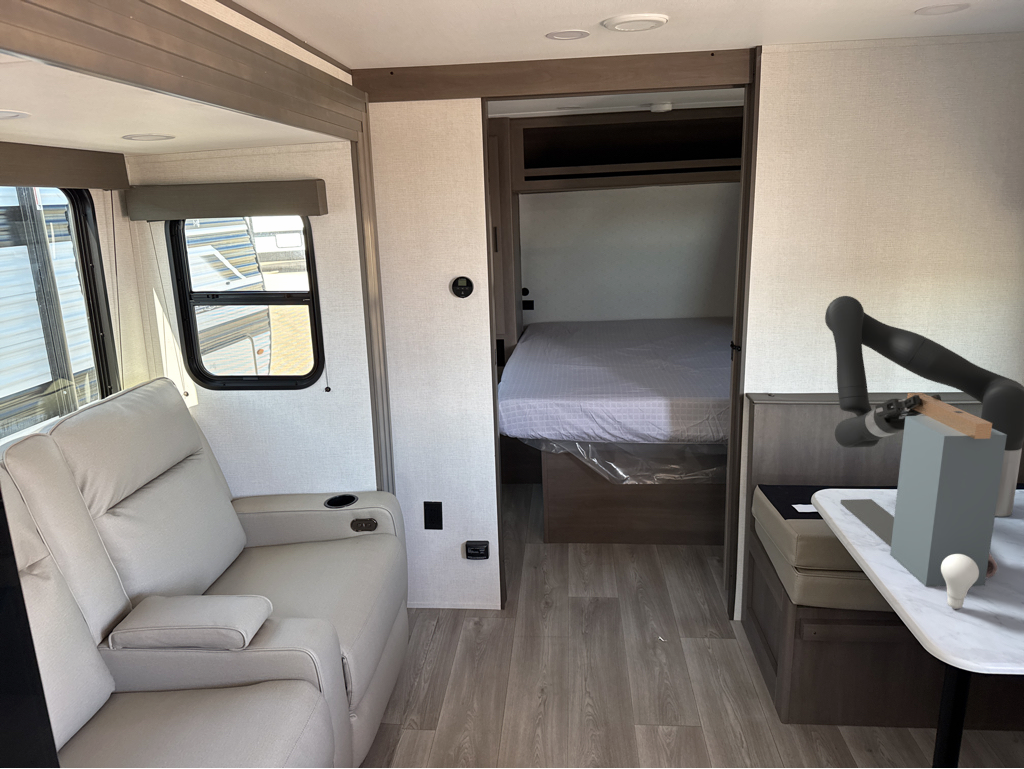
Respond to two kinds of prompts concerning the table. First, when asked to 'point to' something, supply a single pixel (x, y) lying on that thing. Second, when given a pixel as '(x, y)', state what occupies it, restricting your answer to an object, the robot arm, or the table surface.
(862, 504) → the rubber mat
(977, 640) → the table surface
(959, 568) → the lightbulb
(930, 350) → the robot arm
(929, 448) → the tall grey-blue box
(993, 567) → the coil
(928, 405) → the wooden plank with hole
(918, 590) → the table surface
